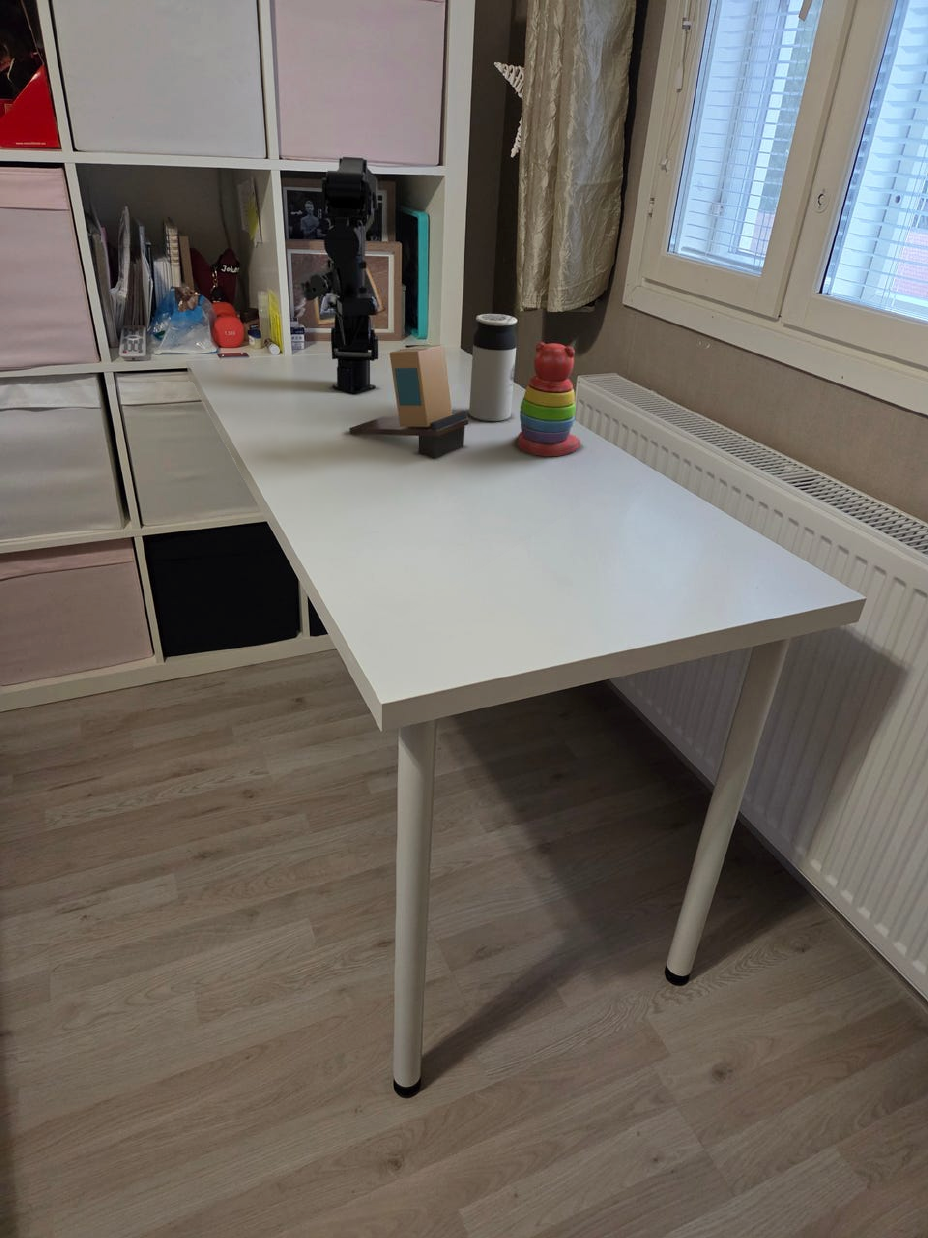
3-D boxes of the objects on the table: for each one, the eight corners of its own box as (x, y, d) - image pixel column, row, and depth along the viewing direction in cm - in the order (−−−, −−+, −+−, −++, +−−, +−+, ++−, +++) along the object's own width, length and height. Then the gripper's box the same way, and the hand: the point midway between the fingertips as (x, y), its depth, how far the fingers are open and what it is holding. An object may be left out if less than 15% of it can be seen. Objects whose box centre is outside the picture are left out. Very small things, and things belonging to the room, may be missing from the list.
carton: (388, 422, 144) (388, 344, 137) (413, 413, 149) (415, 337, 142) (427, 434, 140) (429, 354, 133) (452, 424, 145) (456, 346, 138)
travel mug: (462, 417, 160) (468, 318, 151) (477, 406, 167) (484, 311, 157) (502, 424, 158) (510, 324, 149) (515, 413, 164) (524, 317, 155)
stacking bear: (582, 444, 151) (596, 342, 142) (564, 461, 143) (577, 354, 134) (526, 433, 154) (536, 332, 145) (505, 449, 146) (514, 344, 137)
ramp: (349, 433, 149) (348, 398, 146) (382, 421, 155) (382, 388, 152) (436, 460, 140) (437, 424, 137) (467, 446, 146) (469, 412, 143)
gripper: (289, 244, 151) (294, 334, 159) (311, 263, 136) (314, 361, 144) (351, 244, 154) (352, 332, 162) (378, 263, 139) (378, 358, 148)
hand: (348, 345), depth 154 cm, fingers closed
